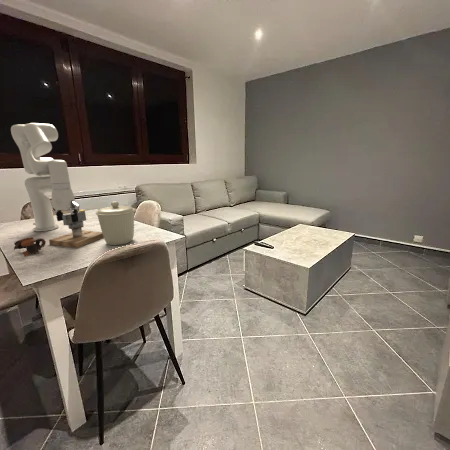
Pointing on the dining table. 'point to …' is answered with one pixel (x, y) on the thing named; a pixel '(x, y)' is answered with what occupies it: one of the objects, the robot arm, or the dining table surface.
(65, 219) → the cap
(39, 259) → the dining table surface
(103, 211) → the canister
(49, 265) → the dining table surface
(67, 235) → the base
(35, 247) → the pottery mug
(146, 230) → the dining table surface
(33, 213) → the robot arm
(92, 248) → the dining table surface
